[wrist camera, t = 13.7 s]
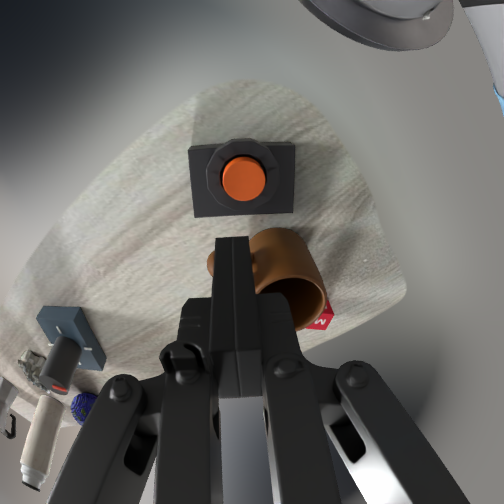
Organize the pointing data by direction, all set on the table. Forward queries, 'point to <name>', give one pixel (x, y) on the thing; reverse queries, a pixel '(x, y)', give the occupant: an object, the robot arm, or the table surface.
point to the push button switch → (211, 178)
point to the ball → (82, 406)
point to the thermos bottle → (41, 442)
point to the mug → (286, 273)
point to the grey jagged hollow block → (33, 368)
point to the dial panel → (72, 333)
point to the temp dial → (61, 365)
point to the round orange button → (243, 178)
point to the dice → (323, 319)
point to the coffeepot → (7, 406)
